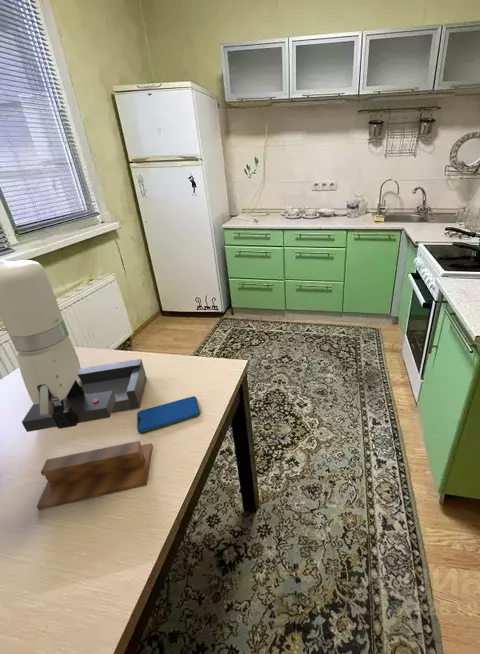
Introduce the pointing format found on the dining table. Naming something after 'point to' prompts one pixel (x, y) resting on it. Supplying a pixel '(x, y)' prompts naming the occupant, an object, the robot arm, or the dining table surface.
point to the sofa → (116, 382)
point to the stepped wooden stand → (95, 473)
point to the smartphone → (167, 414)
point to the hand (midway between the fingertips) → (73, 414)
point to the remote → (82, 407)
